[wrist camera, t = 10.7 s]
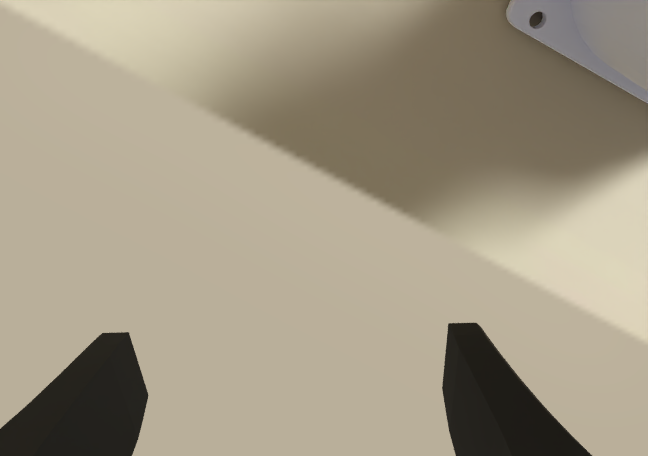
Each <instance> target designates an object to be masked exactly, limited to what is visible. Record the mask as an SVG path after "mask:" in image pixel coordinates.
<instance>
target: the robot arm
mask: <svg viewBox="0 0 648 456" xmlns="http://www.w3.org/2000/svg"><path fill="white" fill-rule="evenodd" d="M539 11H540V12H542V16H543V18H542V20H541V22H540V23H539V24H538V25H537V26H533V27H532V26H530V23H529V20H530V18H531V16H532V15H533V14H534V13H536V12H539ZM506 17H507V20H508V22H509V23H510V24H511V25H512V26H514V27H515V28H517V29H518V30H520V31H522V32H524V33H525V34H527V35H529V36H531V37H532V38H534V39H536V40H538V41H539V42H541V43H543V44H545V45H546V46H548V47H550V48H552V49H553V50H555V51H557V52H558V53H560V54H562V55H564V56H565V57H567V58H569V59H571V60H572V61H574V62H576V63H578V64H579V65H581V66H583V67H585V68H586V69H588V70H590V71H592V72H593V73H595V74H597V75H599V76H600V77H602V78H604V79H605V80H607V81H609V82H611V83H612V84H614V85H616V86H618V87H619V88H621V89H623V90H625V91H626V92H628V93H630V94H632V95H633V96H635V97H637V98H639V99H640V100H642V101H644V102H646V103H647V104H648V0H511V1H510V3H509V5H508V7H507V9H506ZM442 389H443V396H444V402H445V408H446V415H447V420H448V426H449V432H450V435H451V439H452V443H453V446H454V450H455V454H456V456H592V455H591V454H590V453H589V452H587V450H586V449H585V448H584V447H583V446H582V445H581V444H579V442H578V441H577V440H575V439H574V437H572V436H571V434H570V433H569V432H568V431H567V430H566V429H565V428H564V427H563V426H562V425H561V424H560V423H559V422H558V421H557V420H556V419H555V418H554V417H553V416H552V415H551V413H550V412H549V411H548V410H547V409H546V408H545V407H544V406H543V405H542V403H541V402H540V401H539V400H538V399H537V398H536V397H535V395H534V394H533V393H532V392H531V391H530V390H529V388H528V387H527V386H526V385H525V384H524V382H522V381H521V379H520V378H519V377H518V375H517V374H516V373H515V372H514V370H513V369H512V368H511V367H510V365H509V364H508V363H507V362H506V360H505V359H504V358H503V357H502V355H501V354H500V353H499V351H498V350H497V349H496V347H495V346H494V345H493V343H492V342H491V341H490V339H489V338H488V336H487V335H486V334H485V332H484V331H483V329H482V328H481V327H480V326H479V325H478V324H477V323H452V324H451V323H450V324H448V334H447V345H446V355H445V366H444V377H443V387H442ZM147 399H148V392H147V389H146V386H145V383H144V380H143V376H142V373H141V370H140V367H139V364H138V361H137V357H136V355H135V351H134V348H133V345H132V342H131V338H130V335H129V333H128V332H126V333H102V334H101V335H100V336H99V337H98V338H97V339H96V340H94V341H93V342H92V343H91V344H90V345H89V346H88V347H87V348H86V349H85V350H84V351H83V352H82V353H81V354H80V355H79V356H78V357H77V358H76V359H75V360H74V361H73V362H72V363H71V364H70V365H69V366H68V367H67V368H66V369H65V370H64V371H63V372H62V373H61V374H60V375H59V376H58V377H57V378H55V379H54V380H53V381H52V382H51V383H50V384H49V385H48V386H47V387H46V388H45V389H44V390H43V391H42V392H41V393H40V394H39V395H38V396H36V398H34V399H33V400H32V402H30V403H29V404H28V405H27V406H26V407H25V408H23V409H22V410H21V411H20V412H19V413H18V414H17V415H15V416H14V417H13V418H12V419H11V420H10V421H9V422H8V423H6V424H5V425H4V426H3V427H2V428H1V429H0V456H132V454H133V451H134V448H135V446H136V443H137V440H138V437H139V433H140V429H141V425H142V421H143V416H144V412H145V408H146V403H147Z"/></svg>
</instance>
